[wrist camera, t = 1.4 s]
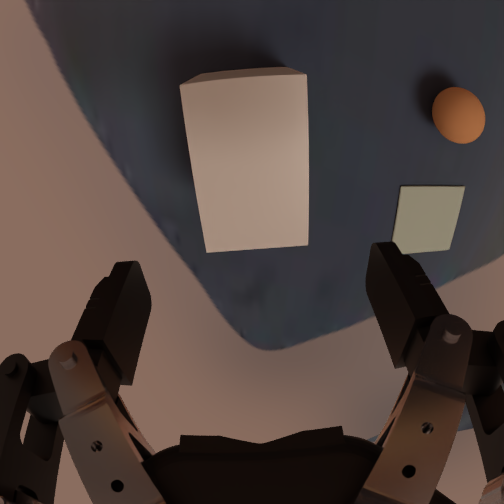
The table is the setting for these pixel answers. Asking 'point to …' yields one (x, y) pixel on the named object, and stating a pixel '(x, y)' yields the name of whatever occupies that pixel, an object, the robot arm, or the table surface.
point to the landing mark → (426, 217)
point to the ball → (458, 115)
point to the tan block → (249, 156)
